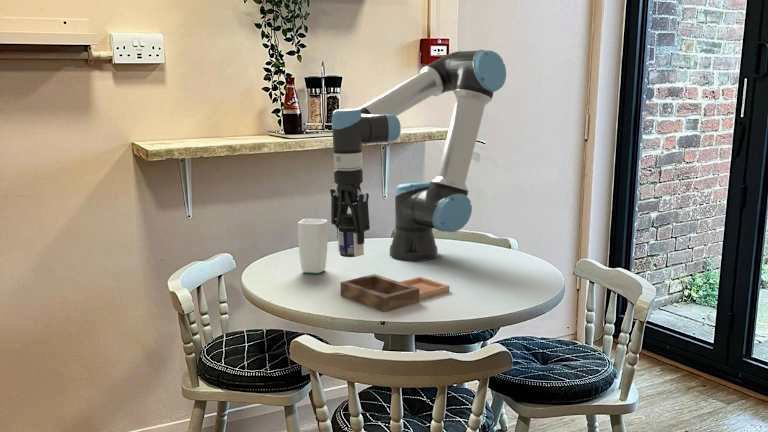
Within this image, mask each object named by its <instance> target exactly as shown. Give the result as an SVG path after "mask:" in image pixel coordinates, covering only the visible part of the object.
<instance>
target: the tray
mask: <svg viewBox="0 0 768 432" xmlns="http://www.w3.org/2000/svg"><path fill="white" fill-rule="evenodd" d="M400 282H401V283H404V284H407V285H410V286H413V287H416V288H419V301H421V300H425V299H429V298H432V297H436V296H439V295H442V294H445V293H449V292H450V285H448V284H446V283H442V282H439V281H435V280H432V279H429V278H426V277H422V276H418V277H413V278H409V279H406V280H402V281H400Z"/></svg>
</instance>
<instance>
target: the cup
mask: <svg viewBox="0 0 768 432" xmlns="http://www.w3.org/2000/svg"><path fill="white" fill-rule="evenodd" d="M328 222H329V221H328V220H327V219H326V218H303V219H301V220H299V221H298V222H297V232H298V235H297V237H298V238H297V239H298V240H297V241H298V251H299V252H298V253H299V261H300V267H301V272H303V273H305V274H314V275H315V274H316V275H317V274H321V273H323V272H324V270H325V269H326V264H327V257H328V243H329V242H328V239H329V238H328V235H329V234H328V230H329V229H328V228H329V227H328Z"/></svg>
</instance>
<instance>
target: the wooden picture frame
mask: <svg viewBox="0 0 768 432" xmlns="http://www.w3.org/2000/svg"><path fill="white" fill-rule="evenodd" d="M339 286H340V296H342V297H344V298H347V299H349V300H351V301H354V302H357V303H358V304H359V303H360V304H361V305H362V304H363V305H365V306H367V307H370V308H373V309H374V310H375V309H376V310H377V311H380V312H384V313H386V312H389V311H393V310H396V309H400V308H403V307H407V306H410V305H414V304H418V303H420V300H419V288H416V287H413V286H410V285H407V284H404V283H401V281H398V280H396V279H391V278H388V277H385V276H381V275H378V274H376V273H374V274H373V273H372V274H370V275H365V276H360V277H356V278H353V279H349V280H344V281H340V285H339ZM375 290H376V291H375ZM380 292H381V293H380ZM383 293H384V294H383Z"/></svg>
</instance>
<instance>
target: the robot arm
mask: <svg viewBox="0 0 768 432" xmlns="http://www.w3.org/2000/svg"><path fill="white" fill-rule="evenodd" d="M506 79H507V68H506V64H505V63H504V60H503V58H502V57H501V56H500V54H499V53H497V52H496V51H493V50H487V49H486V50H485V49H478V50H466V51H465V50H464V51H461V50H459V51H454V52H450V53H448V54H446V55H444V56H442V57H440V58H438V59H437V60H434V61H433V62H431V63H429V64H427V65H426V66H424V67H423V68H422V69H421V70H420V73H418V74H417V75H415V76H413V77H411V78H410V79H408V80H406V81H404V82H402V83H400V84H398V85H396V86H395V87H394V88H392V89H389V90H388V91H386V92H385V93H383V94H381V95H379V96H378V97H375V98H374V99H372V100H370V101H369V102H367V103H366V104H363V105H362V106H359V107H358V108H342V109H341V108H339V109H335V110H334V111H333V112H332V117H331V118H332V119H331V129H332V130H331V131H332V147H333V148H332V149H333V150H332V151H333V166H334V167H333V168H335V169H334V171H333V179H334V183H335V184H336V185H337V187H336V188H335V187H334V188H330V190H329V192H330V197H331V198H330V199H331V200H330V201H331V205H330V207H331V209H330V211H331V213H330V214H331V216H330V217H331V218H330V220H331V221H330V222H331V225H334V226H335V228H336V237H337V241H338V242H337V245H338V246H337V247H338V248H337V249H338V251H337V252H339V253H340V246H339V225H340V224H341V223H342V221H341V215H342V214H348V211H349V209H350V213H352V218H353V222H354V226H355V231H354V233H353V234H354V256H355V257H354V258H357V257H361V256H364V255H365V252H364V250H365V249H364V244H365V232H367V231H370V229H371V227H370V215H369V213H370V212H369V197H370V194H369V193H368V192H366V193H364V192H363V191H362V189H361V184H362V183H363V182H364V181H363V180H364V177H363V175H364V172H363V169H362V167H363V166H364V165H363V145H369V144H381V143H383V144H384V143H385V144H387V143H391V142H395V141H397V140H398V138H399V137H400V135H401V130H402V129H401V121H400V120H399V118H398V116H399V115H401V114H402V113H405V112H407V111H408V110H410V109H411V108H413V107H415V106H417V105H418V104H420V103H421V102H423V101H425V100H427V99H429V98H431V97H432V96H433V97H439V96H440V95H442V94H444V93H447V92H453V94H454V96H455V98H456V100H455V102H454V108H453V110H452V111H453V112H452V114H451V115H452V116H451V119H450V122H449V123H450V124H449V127H448V131H447V135H446V139H445V143H444V146H443V151H442V154H441V159H440V163H439V166H438V171H437V175H436V177H435V178H433V179H431V180H430V181H423V182H421V181H420V182H409V183H408V182H407V183H399V184H398V185H397V186H396V188H395V195H394V200H395V201H394V204H395V206H394V208H395V211H394V212H395V214H394V215H395V219H394V220H395V222H394V223H395V228H394V229H395V231H394V235H393V238H392V242H391V244H390V246H389V256H390V257H391V258H393V259H396V260H401V261H410V262H411V261H414V262H418V261H428V260H432V259H435V258H437V257H438V246H437V244H436V239H435V236H434V234H433V233H434V232H433V230H437V231H438V232H439V231H440V232H445V233H455V232H458V231H460V230H461V229H463V228H464V227H465V226H466V225H467V224H468V223H469V220H470V219H471V216H472V210H473V209H472V208H473V206H472V204H471V200H470V198H469V197H468V194H469V189H468V187H467V184H466V181H467V177H468V173H469V171H470V170H469V169H470V166H471V162H472V158H473V154H474V150H475V146H476V142H477V138H478V134H479V132H480V131H479V129H480V127H481V123H482V119H483V115H484V110H485V107H486V105H487V104H489V103H490V102H492V101H493V97H494V96H493V95H494V93H495V92H497V91H499V90H500V89H501V88H503V87H504V85H505V83H506ZM359 227H360V228H359Z"/></svg>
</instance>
